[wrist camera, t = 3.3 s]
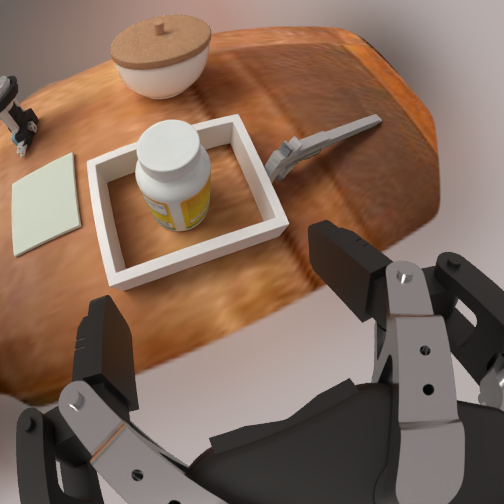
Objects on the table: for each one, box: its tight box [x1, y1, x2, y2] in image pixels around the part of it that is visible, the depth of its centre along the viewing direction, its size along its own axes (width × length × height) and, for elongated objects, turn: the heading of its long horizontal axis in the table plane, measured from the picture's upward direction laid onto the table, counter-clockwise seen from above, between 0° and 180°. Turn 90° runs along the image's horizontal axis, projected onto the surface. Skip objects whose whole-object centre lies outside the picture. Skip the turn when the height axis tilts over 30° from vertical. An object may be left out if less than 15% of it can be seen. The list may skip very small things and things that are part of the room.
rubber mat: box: [12, 152, 81, 257], centre depth 22 cm, size 9×9×1 cm
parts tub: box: [87, 114, 289, 291], centre depth 23 cm, size 12×15×4 cm
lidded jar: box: [110, 15, 211, 100], centre depth 23 cm, size 11×11×9 cm
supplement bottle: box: [135, 120, 211, 231], centre depth 20 cm, size 5×5×10 cm
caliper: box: [264, 114, 382, 184], centre depth 26 cm, size 20×1×6 cm, turn 127°
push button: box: [0, 76, 38, 157], centre depth 19 cm, size 7×5×10 cm
